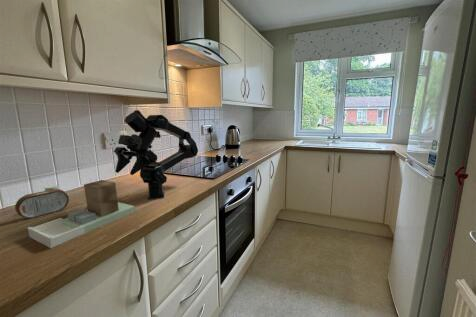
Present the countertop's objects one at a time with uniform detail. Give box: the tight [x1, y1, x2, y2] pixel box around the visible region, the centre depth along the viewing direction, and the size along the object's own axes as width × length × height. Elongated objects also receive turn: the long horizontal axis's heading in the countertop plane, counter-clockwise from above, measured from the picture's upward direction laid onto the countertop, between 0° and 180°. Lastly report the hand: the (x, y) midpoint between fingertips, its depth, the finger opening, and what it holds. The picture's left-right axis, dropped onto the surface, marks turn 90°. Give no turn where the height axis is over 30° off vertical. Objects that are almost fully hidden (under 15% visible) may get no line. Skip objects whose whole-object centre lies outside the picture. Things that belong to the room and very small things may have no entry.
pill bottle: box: [44, 184, 59, 191], centre depth 92 cm, size 5×5×8 cm
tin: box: [14, 188, 70, 219], centre depth 85 cm, size 15×3×8 cm, turn 141°
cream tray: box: [27, 217, 86, 249], centre depth 70 cm, size 9×13×3 cm, turn 60°
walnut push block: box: [83, 179, 119, 217], centre depth 81 cm, size 6×8×10 cm
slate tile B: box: [67, 208, 88, 222], centre depth 77 cm, size 4×4×2 cm
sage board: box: [62, 201, 136, 234], centre depth 81 cm, size 18×12×2 cm, turn 150°
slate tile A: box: [75, 210, 96, 225], centre depth 74 cm, size 4×4×2 cm
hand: (123, 173), depth 87 cm, fingers open, 8 cm apart
